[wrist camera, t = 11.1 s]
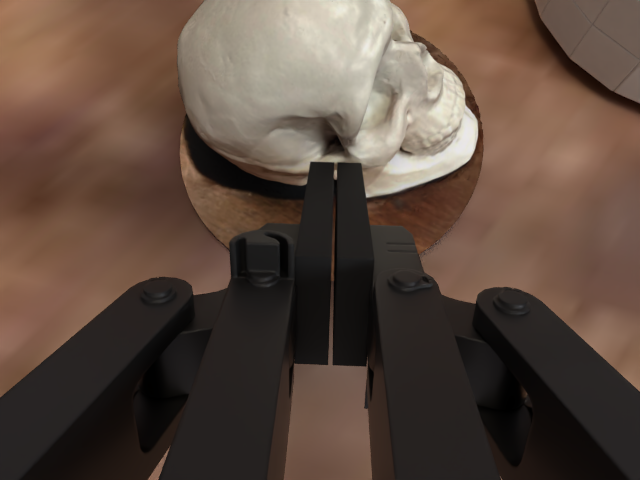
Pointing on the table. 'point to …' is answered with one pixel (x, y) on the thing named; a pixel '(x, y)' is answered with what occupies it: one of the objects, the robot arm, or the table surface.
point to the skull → (322, 115)
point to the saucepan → (599, 39)
